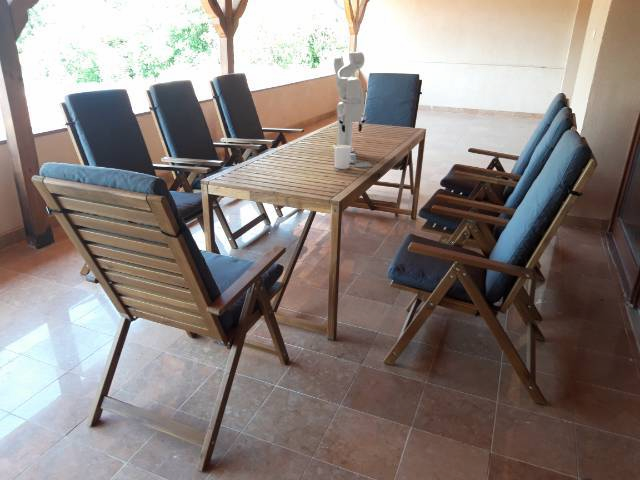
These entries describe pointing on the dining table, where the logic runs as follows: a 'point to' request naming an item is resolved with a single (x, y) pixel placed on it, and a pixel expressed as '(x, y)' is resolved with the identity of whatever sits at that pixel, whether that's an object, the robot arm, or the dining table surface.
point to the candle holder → (342, 156)
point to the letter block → (352, 158)
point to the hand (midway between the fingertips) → (351, 131)
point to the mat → (362, 165)
